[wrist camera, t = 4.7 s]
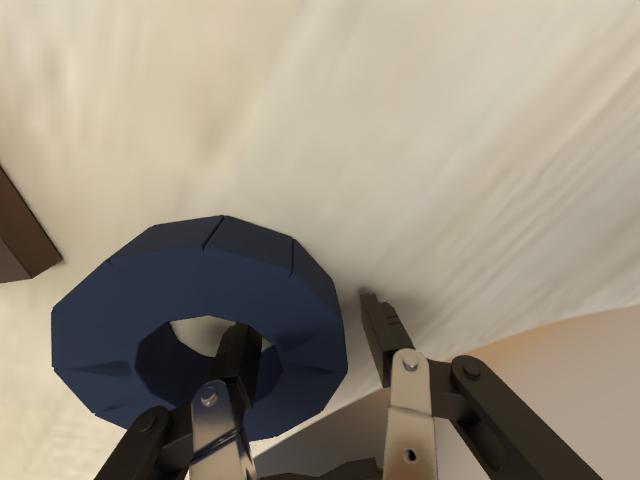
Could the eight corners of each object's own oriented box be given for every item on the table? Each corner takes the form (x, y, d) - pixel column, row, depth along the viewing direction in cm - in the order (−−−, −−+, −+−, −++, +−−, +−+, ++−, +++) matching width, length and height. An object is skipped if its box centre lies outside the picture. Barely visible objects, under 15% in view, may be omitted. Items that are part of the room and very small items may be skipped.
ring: (323, 199, 11) (332, 225, 9) (344, 374, 17) (354, 424, 14) (50, 240, 11) (-30, 280, 8) (161, 405, 16) (135, 462, 13)
